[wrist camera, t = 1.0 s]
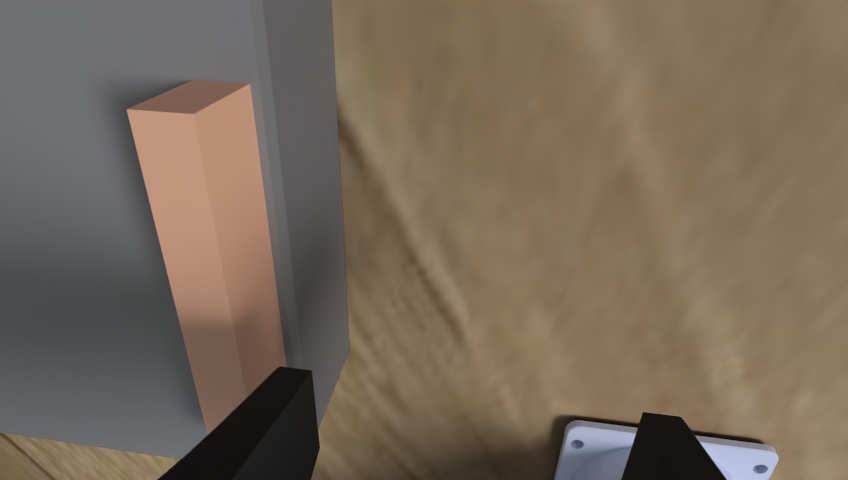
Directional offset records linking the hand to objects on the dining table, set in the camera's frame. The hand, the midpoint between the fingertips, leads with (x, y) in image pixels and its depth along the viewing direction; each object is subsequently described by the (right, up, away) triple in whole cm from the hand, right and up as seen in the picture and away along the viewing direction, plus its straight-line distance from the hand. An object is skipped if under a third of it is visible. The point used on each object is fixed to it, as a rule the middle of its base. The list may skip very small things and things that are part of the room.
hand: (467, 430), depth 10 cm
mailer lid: (-10, +3, +5) cm, 12 cm away
